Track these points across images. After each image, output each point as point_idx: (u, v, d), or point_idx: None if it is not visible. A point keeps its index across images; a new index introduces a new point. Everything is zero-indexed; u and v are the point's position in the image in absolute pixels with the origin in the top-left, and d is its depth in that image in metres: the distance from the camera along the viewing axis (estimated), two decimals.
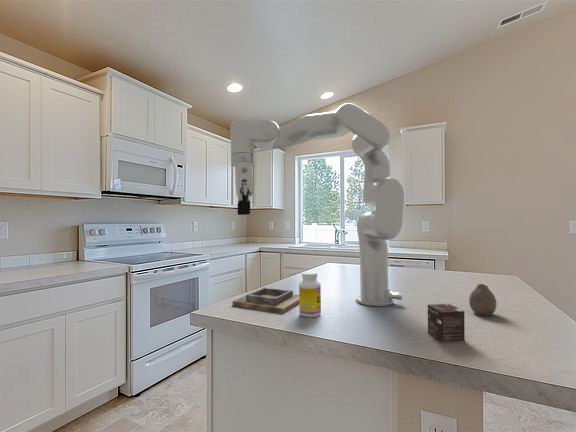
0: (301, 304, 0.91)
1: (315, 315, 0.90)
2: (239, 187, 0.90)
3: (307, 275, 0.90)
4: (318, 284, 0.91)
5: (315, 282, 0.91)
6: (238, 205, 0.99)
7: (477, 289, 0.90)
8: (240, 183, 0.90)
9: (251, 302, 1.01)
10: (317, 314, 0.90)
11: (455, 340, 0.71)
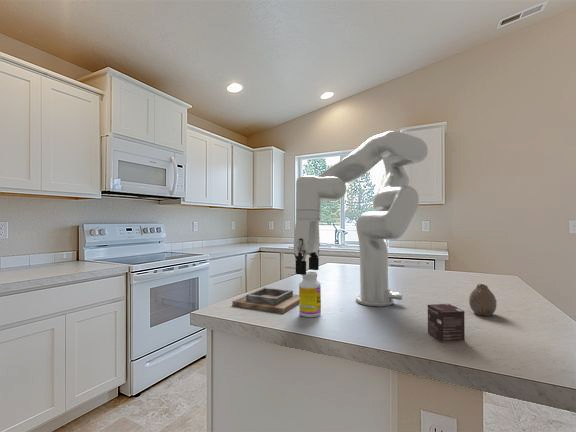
0: (301, 304, 0.91)
1: (315, 315, 0.90)
2: None
3: (307, 275, 0.90)
4: (318, 284, 0.91)
5: (315, 282, 0.91)
6: (305, 263, 0.88)
7: (477, 289, 0.90)
8: None
9: (251, 302, 1.01)
10: (317, 314, 0.90)
11: (455, 340, 0.71)
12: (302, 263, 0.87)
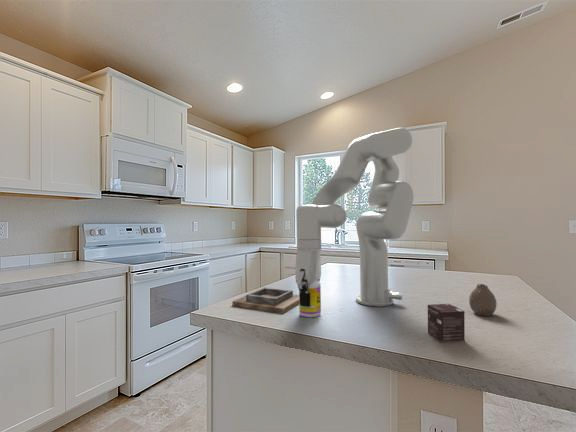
0: None
1: (315, 315, 0.90)
2: None
3: None
4: (318, 284, 0.91)
5: (315, 282, 0.91)
6: (309, 295, 0.89)
7: (477, 289, 0.90)
8: None
9: (251, 302, 1.01)
10: (317, 314, 0.90)
11: (455, 340, 0.71)
12: (306, 295, 0.88)
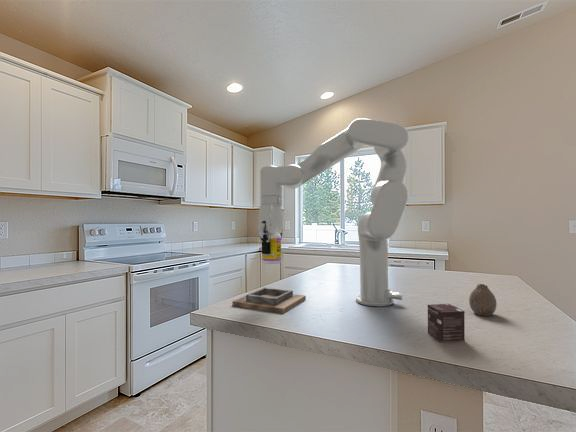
0: None
1: (275, 262, 1.02)
2: None
3: None
4: (278, 235, 1.03)
5: (276, 233, 1.03)
6: None
7: (477, 289, 0.90)
8: None
9: (251, 302, 1.01)
10: (277, 261, 1.03)
11: (455, 340, 0.71)
12: (267, 244, 1.01)
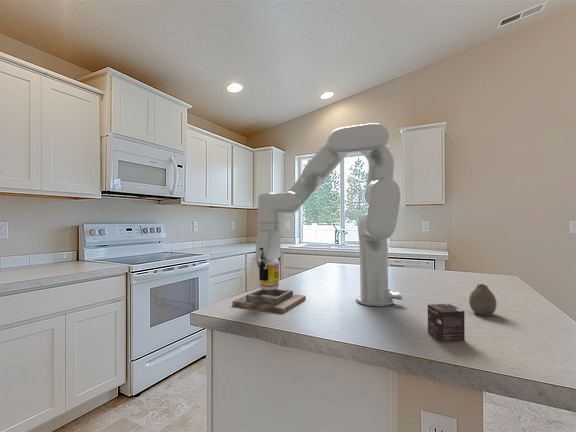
0: None
1: (272, 288, 1.03)
2: None
3: None
4: (276, 261, 1.04)
5: (273, 260, 1.04)
6: (267, 271, 1.03)
7: (477, 289, 0.90)
8: None
9: (251, 302, 1.01)
10: (274, 287, 1.04)
11: (455, 340, 0.71)
12: (264, 271, 1.02)
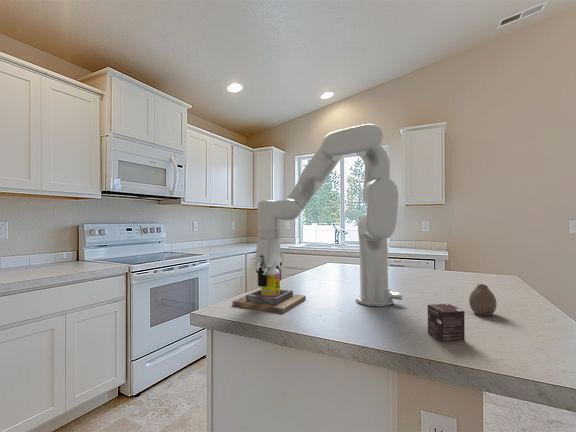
0: (262, 289, 1.04)
1: None
2: None
3: None
4: (277, 271, 1.04)
5: (274, 270, 1.04)
6: None
7: (477, 289, 0.90)
8: None
9: (251, 302, 1.01)
10: None
11: (455, 340, 0.71)
12: (263, 277, 1.01)
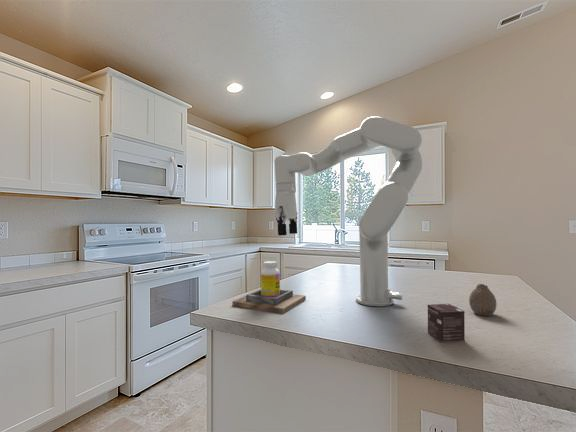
0: (262, 289, 1.04)
1: None
2: None
3: (267, 264, 1.04)
4: (277, 271, 1.05)
5: (274, 270, 1.04)
6: (285, 226, 1.08)
7: (477, 289, 0.90)
8: None
9: (251, 302, 1.01)
10: None
11: (455, 340, 0.71)
12: (283, 226, 1.07)
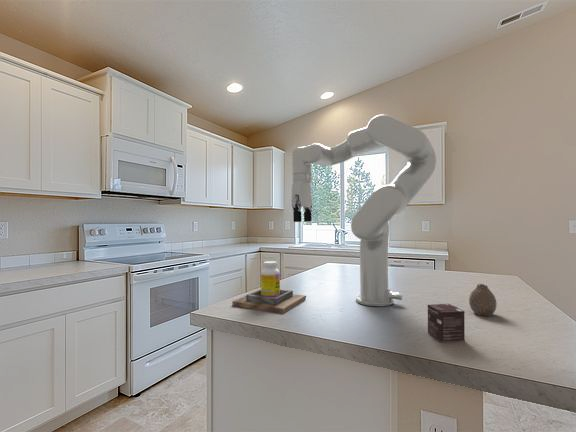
0: (262, 289, 1.04)
1: None
2: None
3: (267, 264, 1.04)
4: (277, 271, 1.05)
5: (274, 270, 1.04)
6: None
7: (477, 289, 0.90)
8: None
9: (251, 302, 1.01)
10: None
11: (455, 340, 0.71)
12: (298, 213, 1.15)
